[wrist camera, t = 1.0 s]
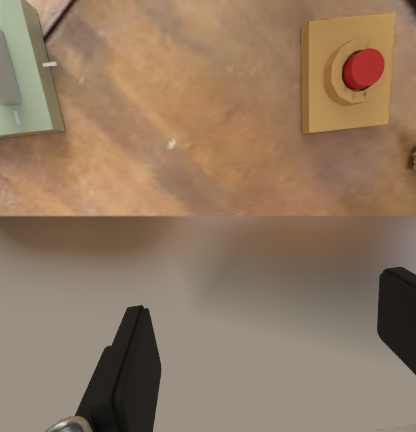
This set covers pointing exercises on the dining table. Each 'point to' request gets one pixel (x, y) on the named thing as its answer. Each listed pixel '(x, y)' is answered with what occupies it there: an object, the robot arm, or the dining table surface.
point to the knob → (7, 77)
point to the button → (363, 69)
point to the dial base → (28, 74)
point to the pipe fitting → (415, 157)
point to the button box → (333, 72)
